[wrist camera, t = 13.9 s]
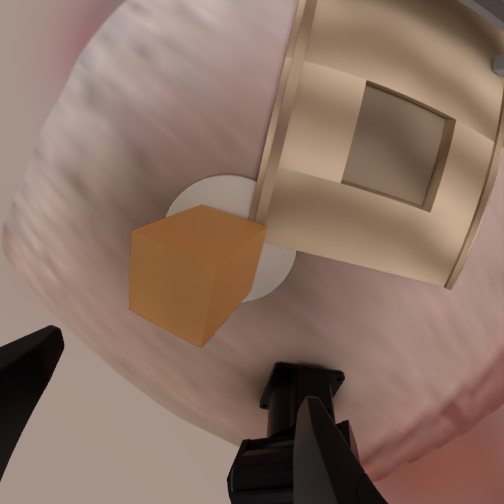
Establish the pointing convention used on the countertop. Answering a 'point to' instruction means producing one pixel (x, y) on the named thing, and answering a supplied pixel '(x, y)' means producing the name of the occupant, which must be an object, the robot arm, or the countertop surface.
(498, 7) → the grey toy table
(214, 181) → the dish
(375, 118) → the board
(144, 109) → the countertop surface
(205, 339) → the block
